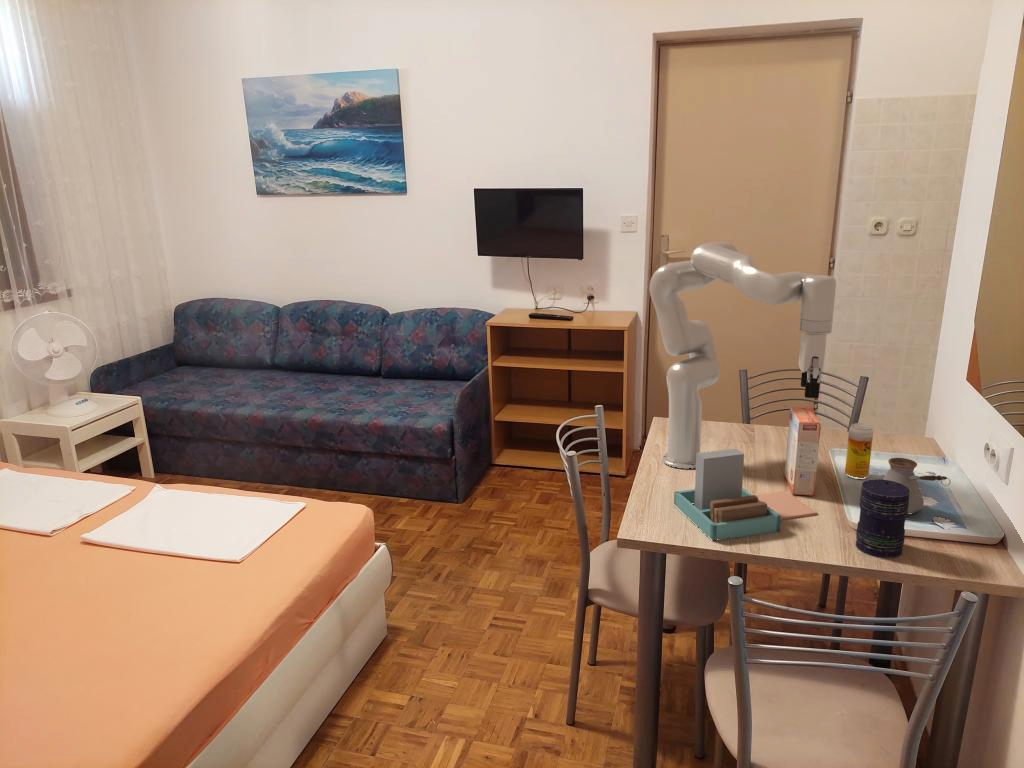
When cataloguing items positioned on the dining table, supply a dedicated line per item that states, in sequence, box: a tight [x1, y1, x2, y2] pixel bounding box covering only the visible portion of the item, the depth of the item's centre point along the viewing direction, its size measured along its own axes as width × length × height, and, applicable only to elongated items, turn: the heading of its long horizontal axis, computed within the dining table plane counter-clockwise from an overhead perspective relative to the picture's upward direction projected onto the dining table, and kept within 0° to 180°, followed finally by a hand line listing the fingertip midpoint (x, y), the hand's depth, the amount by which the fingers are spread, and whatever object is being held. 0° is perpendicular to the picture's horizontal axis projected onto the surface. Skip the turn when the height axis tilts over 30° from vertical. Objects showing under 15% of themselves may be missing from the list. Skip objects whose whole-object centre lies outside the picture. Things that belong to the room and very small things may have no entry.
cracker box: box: [784, 406, 822, 497], centre depth 199 cm, size 14×6×21 cm, turn 168°
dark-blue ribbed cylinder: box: [855, 479, 910, 559], centre depth 166 cm, size 10×10×15 cm
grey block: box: [694, 448, 745, 510], centre depth 186 cm, size 4×11×16 cm, turn 104°
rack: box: [673, 487, 782, 541], centre depth 184 cm, size 20×18×4 cm
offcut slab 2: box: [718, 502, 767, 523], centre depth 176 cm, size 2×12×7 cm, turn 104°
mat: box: [754, 490, 818, 521], centre depth 190 cm, size 14×13×1 cm
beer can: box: [844, 422, 874, 478], centre depth 205 cm, size 6×6×15 cm
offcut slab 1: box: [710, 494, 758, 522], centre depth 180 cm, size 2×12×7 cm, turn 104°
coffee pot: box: [882, 457, 951, 514], centre depth 180 cm, size 21×12×15 cm, turn 8°
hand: (809, 392), depth 185 cm, fingers open, 9 cm apart
